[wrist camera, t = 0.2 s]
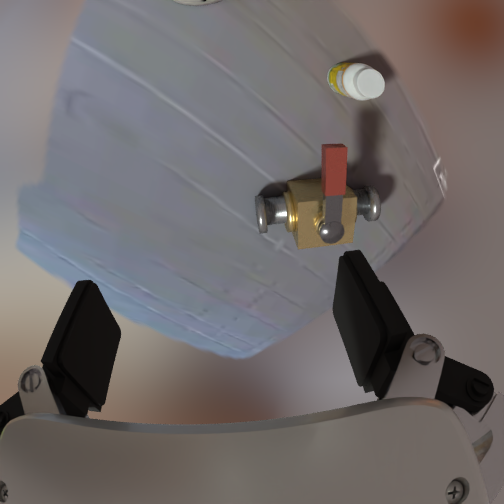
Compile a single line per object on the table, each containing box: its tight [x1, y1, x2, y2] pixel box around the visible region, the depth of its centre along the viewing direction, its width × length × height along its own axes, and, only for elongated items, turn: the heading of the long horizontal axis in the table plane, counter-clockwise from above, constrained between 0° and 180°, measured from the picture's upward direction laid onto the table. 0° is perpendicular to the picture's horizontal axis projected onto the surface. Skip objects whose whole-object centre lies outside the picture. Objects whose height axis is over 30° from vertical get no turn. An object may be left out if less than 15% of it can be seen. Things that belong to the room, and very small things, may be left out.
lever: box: [318, 144, 347, 244], centre depth 38 cm, size 14×4×2 cm, turn 5°
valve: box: [255, 178, 381, 249], centre depth 45 cm, size 20×8×9 cm, turn 95°
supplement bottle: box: [327, 63, 385, 100], centre depth 33 cm, size 5×5×10 cm
